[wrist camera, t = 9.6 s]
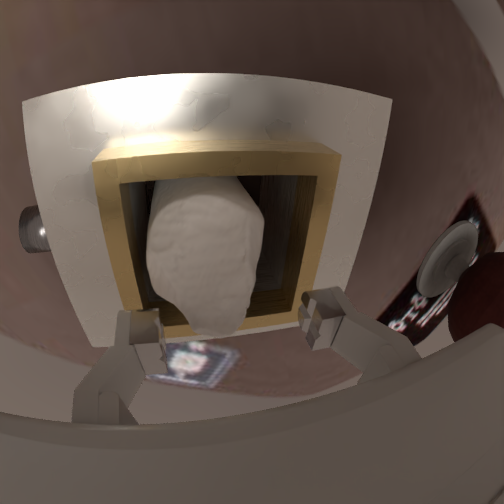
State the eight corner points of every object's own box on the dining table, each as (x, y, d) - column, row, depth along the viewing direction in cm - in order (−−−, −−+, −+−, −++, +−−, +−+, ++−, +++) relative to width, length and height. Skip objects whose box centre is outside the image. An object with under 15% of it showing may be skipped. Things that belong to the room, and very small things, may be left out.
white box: (337, 88, 17) (417, 106, 10) (305, 271, 26) (345, 337, 19) (28, 101, 12) (-45, 128, 6) (72, 292, 21) (53, 369, 15)
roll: (218, 212, 7) (334, 299, 10) (193, 130, 17) (254, 181, 20) (109, 341, 9) (227, 383, 12) (137, 199, 18) (198, 240, 21)
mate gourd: (405, 259, 29) (514, 395, 13) (478, 195, 27) (588, 293, 11) (417, 317, 38) (485, 415, 22) (476, 265, 36) (548, 347, 20)
